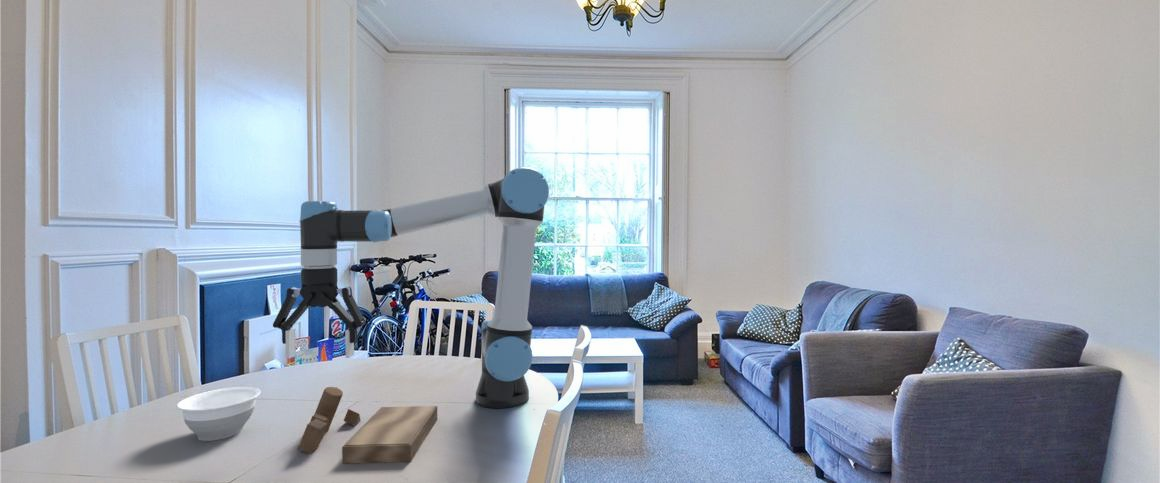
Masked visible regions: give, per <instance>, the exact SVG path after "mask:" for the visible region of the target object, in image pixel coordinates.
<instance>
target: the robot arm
mask: <svg viewBox="0 0 1160 483" xmlns="http://www.w3.org/2000/svg"><path fill="white" fill-rule="evenodd" d="M549 194H550V188H549V185H548V181H547V180H546V177H544V175H543V174H542V173H541V172H540V171H538V170H537V169H534V168H532V167H526V166H524V167H523V166H522V167H516V168H514V169H512V170H510V171H509V172H507V173H506V175H505V176H504V178H502V179H500V180H497V181H494V182H492V183H491V182H490V183H487V184H485V185H484V187H483V188H480V189H476V190H472V191H467V192H462V193H457V194H453V195H448V196H444V197H443V196H442V197H440V198H434V199H430V200H424V201H421V202H420V201H419V202H416V203H410V204H407V205H402V206H398V207H392V208H388V209H387V208H386V209H382V210H377V209H372V210H370V209H369V210H363V209H362V210H344V209H338V207H337V203H336V202H335V201H325V200H323V201H321V200H308V201H304V202H302V203H301V205H300V218H299V226H300V227H299V229H300V234H299V235H300V266H301V267H303V268H301V270H300V283H301V287H300V288H298V287H297V286H294V287H289V288H287V289H286V294H285V295H286V296H285V299H284V301H283V303H282V304H281V307H280V308H279V311H278V314H277V315H276V317H275V319H274V321H273V323H272V327H273V328H275V329H276V328H278V329H280V330H281V343H282V344H283V345H284V344H285V359H287V360H288V359H292V358H294V357H295V356H297V355H296V354H297V351H296V350H297V348H296V346H297V345H296V328H293V327H294V325H295V324H296V323H297V322H298V320H300V318H301V317H302V316H303V314H305V312H306V311H307V310H308V309H309V308H310V307H311V308H316V307H319V308H326V307H328V308H329V309H331V310H332V311H333V313H335V314H336V315H337V317H338V318H339V319H340V321H341V322H343V324H345V326H346V327H347V329H345V331H344V332H345V333H344V335H345V338H344V339H345V359H350V358H351V357H352V356H354V355H355V343H357V341H358V338H359V336H358V329H359V328H360V327H363V326H364V325H366V323H367V322H366V319H365V318H364V315H363V313H362V311H361V310H360V308H359V306H358V304H357V302H356V300H355V297H354V296H353V291H352V290H353V289H352V287H351V286H346V287H342V288H339V287H338V268H337V267H335V266H337V265H338V242H340V243H341V242H343V243H344V242H357V243H358V242H359V243H360V242H363V243H366V242H367V243H368V242H370V243H371V242H373V243H380V242H388V241H389V240H390V239H391V238H394V237H398V236H402V235H406V234H410V233H414V232H415V233H416V232H420V231H424V230H428V229H434V228H437V227H441V226H445V225H451V224H456V223H460V222H465V221H468V220H469V221H470V220H473V219H478V218H482V217H486V216H491V217H492V218H497V219H498V220H499V222H500V223H501V224H502V234H501V242H500V254H499V261H498V262H499V265H498V273H497V275H498V276H497V283H496V293H495V303H494V312H493V318H492V319H486V320H484V321H482V322H481V329H480V333H481V375H480V378H479V381H478V383H477V387H476V391H475V403H476V404H477V405H479V406H481V407H484V408H491V409H504V408H505V409H506V408H512V407H517V406H520V405H522V404H524V403H526V402H527V401H528V400H529V398H530V396H529V395H530V392H529V391H530V390H529V386H528V383H527V381H526V377H525V374H527V372H528V371H529V370H530V368H531V365H532V362H533V351H532V347H531V346H532V345H531V343H532V331H533V325H532V324H531V323H530V322H529V320H528V314H529V303H530V294H531V283H532V274H533V264H534V254H535V247H536V246H535V244H536V236H537V235H536V234H537V228H538V227H540V226H541V225H542V224H543V221H544V216H545V215H544V213H545V205H546V204H547V202H548V199H549ZM338 295H339V296H340V297H341V298H342V300H343V302H344V304H345V306H346V308H347V309H345V307H344V306H343V305H342V304H341V302H340V300H339V299H338V298H337V296H338ZM300 296H301V297H302V298H303V299H302V301H301V302H300V303H299V304H298V306H297V307H296V309H294V311H292V309H293V306H294V305H295V303H296V301H297V299H298V297H300ZM347 310H348V311H349V312H348V311H347ZM291 311H292V313H291ZM290 314H291V315H290ZM289 315H290V316H289Z"/></svg>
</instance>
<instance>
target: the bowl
mask: <svg viewBox="0 0 1160 483" xmlns="http://www.w3.org/2000/svg"><path fill="white" fill-rule="evenodd" d="M261 392H262V391H261V390H260V389H259V388H257V387H254V386H231V387H223V388H217V389H212V390H209V391H204V392H200V393H197V394H194V395H190V396H188V397H186V398H184V399H182V400H180V401H179V402H178V403H177V404H176V409H178V410H179V411H182V418H183V420H184V423H185V425H186V426H187V428H188V429H189V430H190V431H191V432H192V433H193V434H195V435H196V436H197V439H198V440H199V441H204V442H208V441H217V440H222V439H223V440H224V439H227V438H230V437H232V436H233V437H234V436H235V435H237V434H239V433H241V432H242V431H243V430H244V426H245V425H246V423H247V422H249V419H250V418H251V416H252V414H253V412H254V410H255V406H256V400H257V397H259V396H260V395H261Z"/></svg>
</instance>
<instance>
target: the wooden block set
mask: <svg viewBox="0 0 1160 483" xmlns="http://www.w3.org/2000/svg"><path fill="white" fill-rule="evenodd" d="M343 393H344V392H343V391H342V390H341V389H339V388H338V387H335V386H327V387H325V388H324V390H323V392H322V395H321V398H320V399H319V402H318V404H317V407H316V410H315V412H314V414H313V415H311V419H310V421H309V422H308V423H307V424H306V428H305V429H304V431H303V434H302V436H301V440H300V442H299V445H298V447H297V448H298V450H300V451H303V452H305V453H307V454H312V453H313V452H314V451H315V450H317V449H318V448H319V446H320V443H321V441H322V439H323V437H324V435H325V433H327V432H328V431H329V430H330V427H331V425H332V423H333V420H334V418H335V415H336V412H337V410H338V407H339V405H340V403H341V400H342V398H343V395H344V394H343ZM360 421H362V420H361V416H360V413H359V412H356V411H354V410H352V409H350V408H348V409H347V411H346V413H345V416H344V418H343V422H344V423H347V424H349V425H351V426H356V425H357V424H358V423H359V422H360Z"/></svg>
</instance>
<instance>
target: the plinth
mask: <svg viewBox="0 0 1160 483" xmlns="http://www.w3.org/2000/svg"><path fill="white" fill-rule="evenodd" d="M437 421H438V405H415V406H413V405H412V406H381V407H380V408H379V409H378V410H377V411H376V412H375V413H374V415H372V416H371V417H370V418H369V419H368V420H367V421H366V422H365V423H364V424H363V425H362V426H361V427H360V428H359V430H357V431H356V432H355V433H354V434H353V435H352V436H351V437H350V438H349V439H348V440H347V441H346V442H345V443H344V444H343V445H342V447H341V449H342V450H341V451H342V453H341V454H342V455H341V456H342V459H341V460H342V461H341V462H342V464H367V463H368V464H369V463H371V464H372V463H373V464H374V463H377V464H378V463H408V462H409V463H411V462H412V461H413V459H414V457H416V454H417V453H418V452H419V450H420V448H421V447H422V445H423V443H424V442H425V441H426V439H427V436H428V435H429V434H430V432H431V430H432V429H433V428H434V426H435V424H436V422H437Z"/></svg>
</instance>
